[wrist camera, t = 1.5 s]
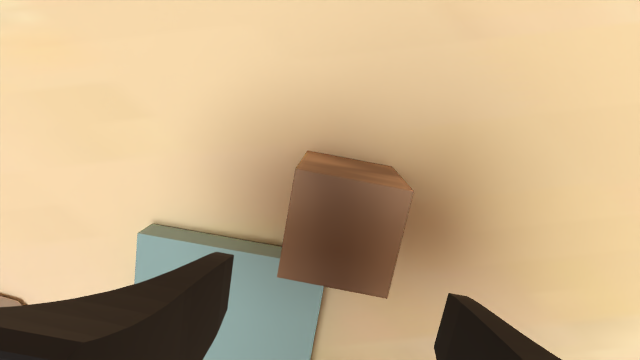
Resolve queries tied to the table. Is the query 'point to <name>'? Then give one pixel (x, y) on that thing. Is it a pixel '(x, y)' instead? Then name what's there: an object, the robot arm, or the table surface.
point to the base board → (241, 293)
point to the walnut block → (344, 224)
